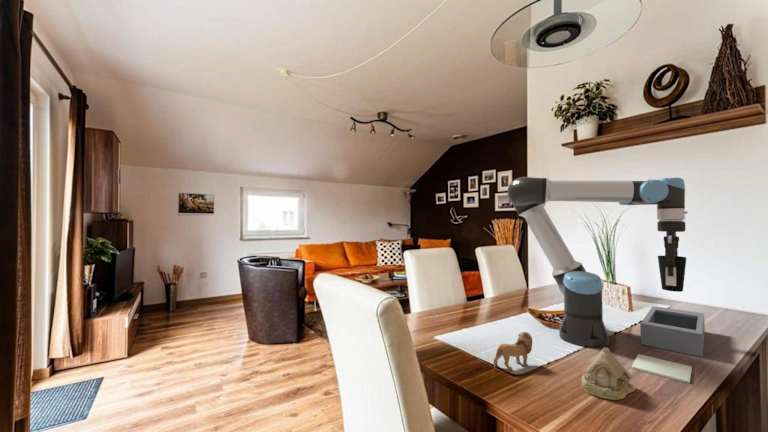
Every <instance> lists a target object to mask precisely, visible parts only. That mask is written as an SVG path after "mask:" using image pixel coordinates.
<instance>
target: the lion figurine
mask: <svg viewBox="0 0 768 432" xmlns="http://www.w3.org/2000/svg"><path fill="white" fill-rule="evenodd" d="M532 349H533V337H532V336H531V334H530V333H529V332H528V331H521V332H519V333H518V338H517V340H516V342H515V343H502V344H499V345H498V347H497V349H496V353H495V357H494V358H493V369H494V370H497V368H498V367H499V364H498V360H499V359H500V358H502V357H503V359H504V364H503V365H504V366H505V368H507V370H508V371H513V368H512V366H510V365H509V362H510V358H511V357H512V358H515V363H516V364H520V363H521V360H520V356H522V359H523V361H522V363H523V366H524V367H527V368H528V367H529V364H528V363H527V362H528V355H529V354H530V353H531V351H532Z"/></svg>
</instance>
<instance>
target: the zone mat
mask: <svg viewBox="0 0 768 432" xmlns="http://www.w3.org/2000/svg"><path fill="white" fill-rule="evenodd" d="M631 369H633V370H637V371H641V372H644V373H648V374H652V375H654V376H659V377H662V378H667V379H670V380H674V381H679V382H683V383H686V382H687V383H686V384H689V383H691V377H692V369H693V367H692V366H691V365H687V364H682V363H679V362H674V361H670V360H665V359H661V358H658V357H657V358H656V357H654V356H649V355H648V356H647V355H643V354H640V353H639V354H637V356H636V357H635V359H634V361H633V363H632V365H631Z"/></svg>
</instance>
